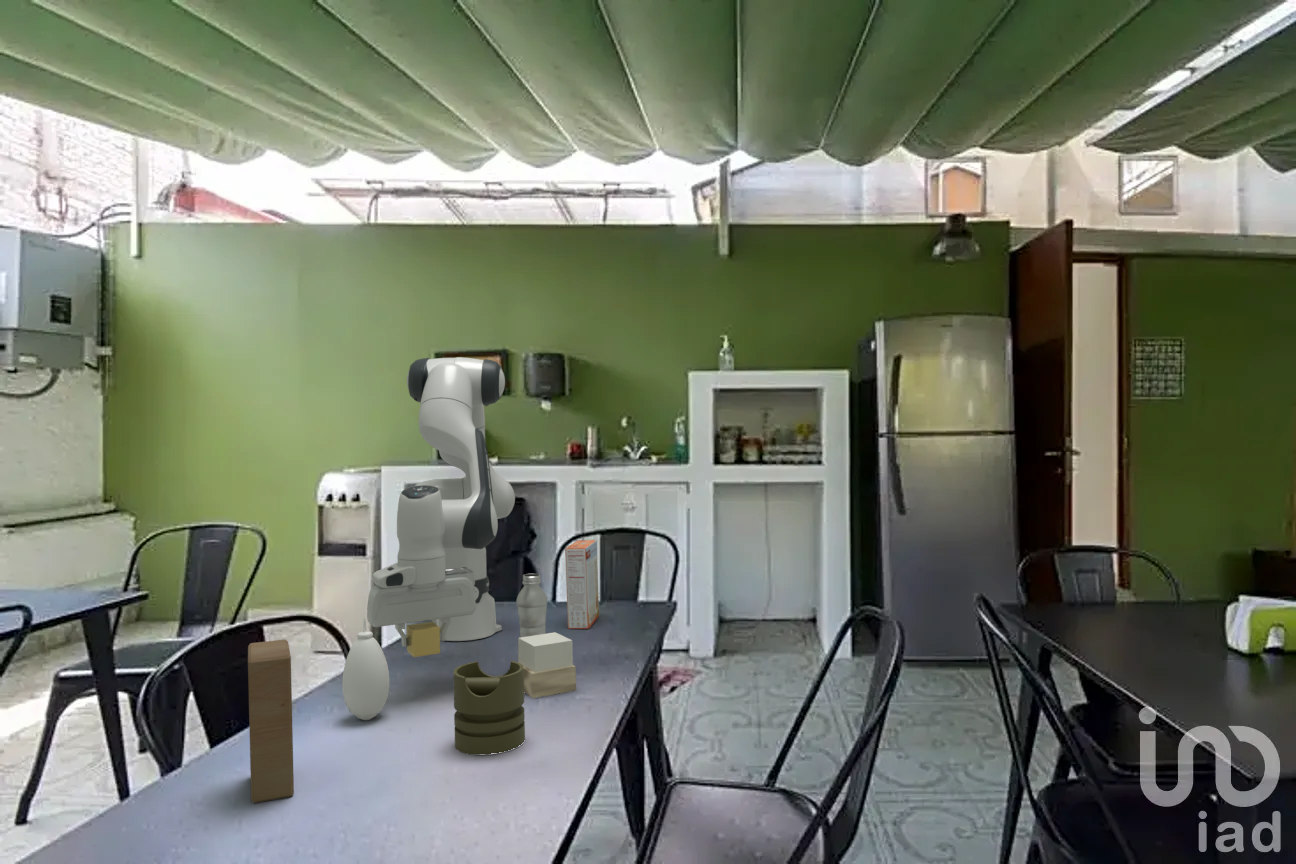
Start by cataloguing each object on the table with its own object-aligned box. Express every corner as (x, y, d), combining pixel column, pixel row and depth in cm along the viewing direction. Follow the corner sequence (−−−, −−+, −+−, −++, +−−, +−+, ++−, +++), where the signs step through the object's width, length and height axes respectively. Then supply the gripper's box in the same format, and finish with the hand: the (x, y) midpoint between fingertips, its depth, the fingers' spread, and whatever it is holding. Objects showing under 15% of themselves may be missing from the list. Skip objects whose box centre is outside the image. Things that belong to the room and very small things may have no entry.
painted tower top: (518, 662, 172) (518, 637, 172) (555, 656, 176) (555, 632, 176) (534, 672, 165) (534, 646, 165) (572, 665, 169) (572, 640, 169)
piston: (516, 678, 136) (445, 679, 137) (518, 755, 137) (446, 755, 137) (528, 659, 148) (462, 660, 148) (530, 729, 148) (464, 730, 148)
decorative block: (251, 775, 130) (248, 642, 130) (292, 769, 132) (289, 638, 132) (249, 805, 120) (246, 660, 120) (294, 797, 122) (290, 655, 122)
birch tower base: (515, 687, 173) (515, 662, 173) (557, 680, 177) (556, 656, 177) (532, 699, 165) (532, 673, 165) (576, 691, 169) (575, 666, 169)
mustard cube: (407, 650, 168) (406, 625, 167) (433, 647, 170) (432, 621, 170) (413, 657, 163) (413, 630, 163) (440, 653, 166) (439, 627, 166)
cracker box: (577, 617, 234) (576, 539, 234) (599, 617, 233) (598, 539, 233) (565, 629, 220) (564, 547, 220) (589, 629, 219) (587, 547, 219)
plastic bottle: (544, 674, 181) (542, 578, 181) (513, 672, 182) (511, 577, 182) (553, 665, 187) (551, 572, 187) (523, 664, 188) (521, 572, 188)
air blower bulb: (398, 713, 158) (396, 614, 157) (371, 727, 150) (369, 623, 150) (362, 709, 160) (360, 612, 160) (334, 723, 153) (331, 621, 153)
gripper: (469, 563, 174) (471, 632, 174) (364, 574, 164) (365, 647, 164) (479, 568, 168) (481, 639, 169) (371, 580, 159) (372, 655, 159)
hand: (423, 643), depth 167 cm, fingers closed on mustard cube, 5 cm apart
